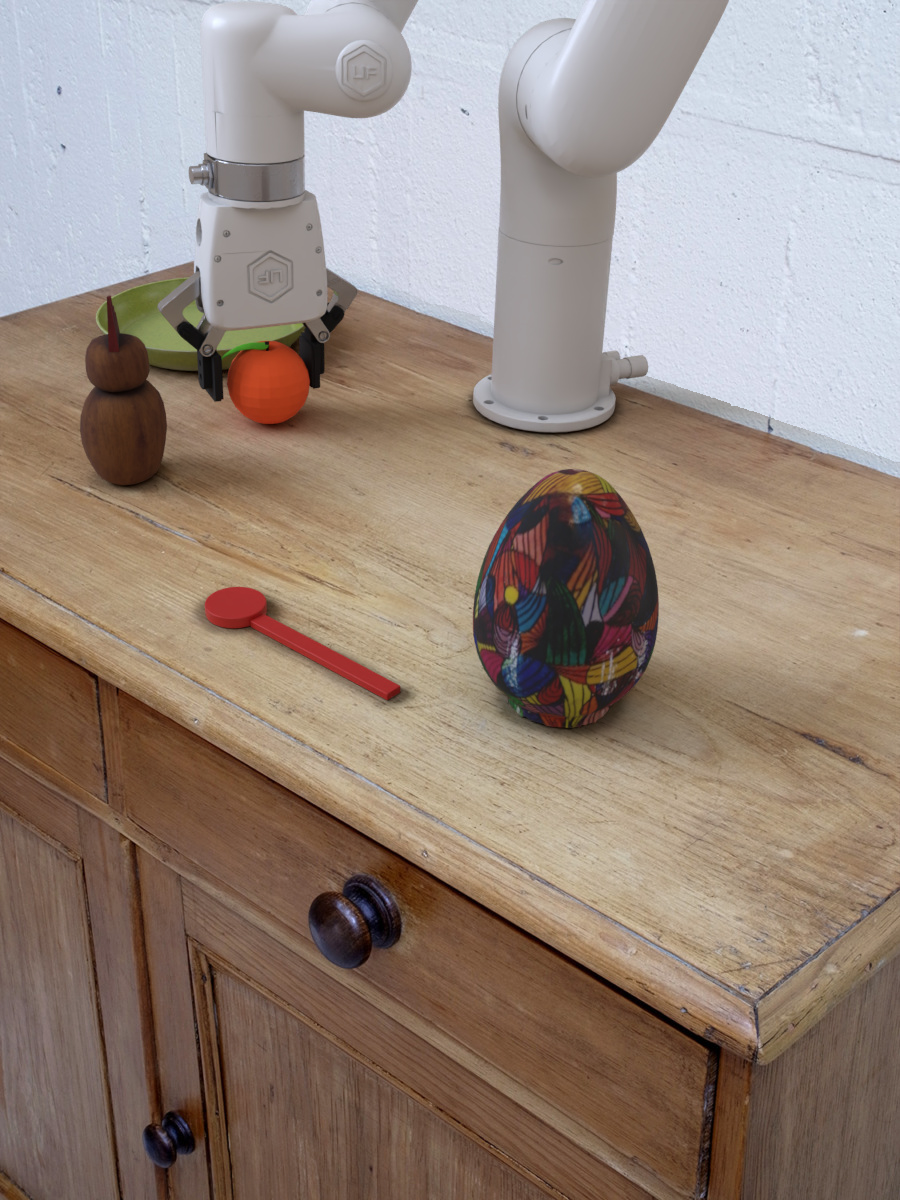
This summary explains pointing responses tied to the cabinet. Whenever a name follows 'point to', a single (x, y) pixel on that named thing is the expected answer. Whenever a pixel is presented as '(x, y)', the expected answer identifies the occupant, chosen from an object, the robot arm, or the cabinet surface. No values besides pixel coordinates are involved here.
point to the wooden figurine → (121, 408)
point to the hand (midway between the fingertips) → (262, 388)
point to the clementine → (267, 381)
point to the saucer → (162, 339)
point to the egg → (566, 601)
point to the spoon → (288, 636)
